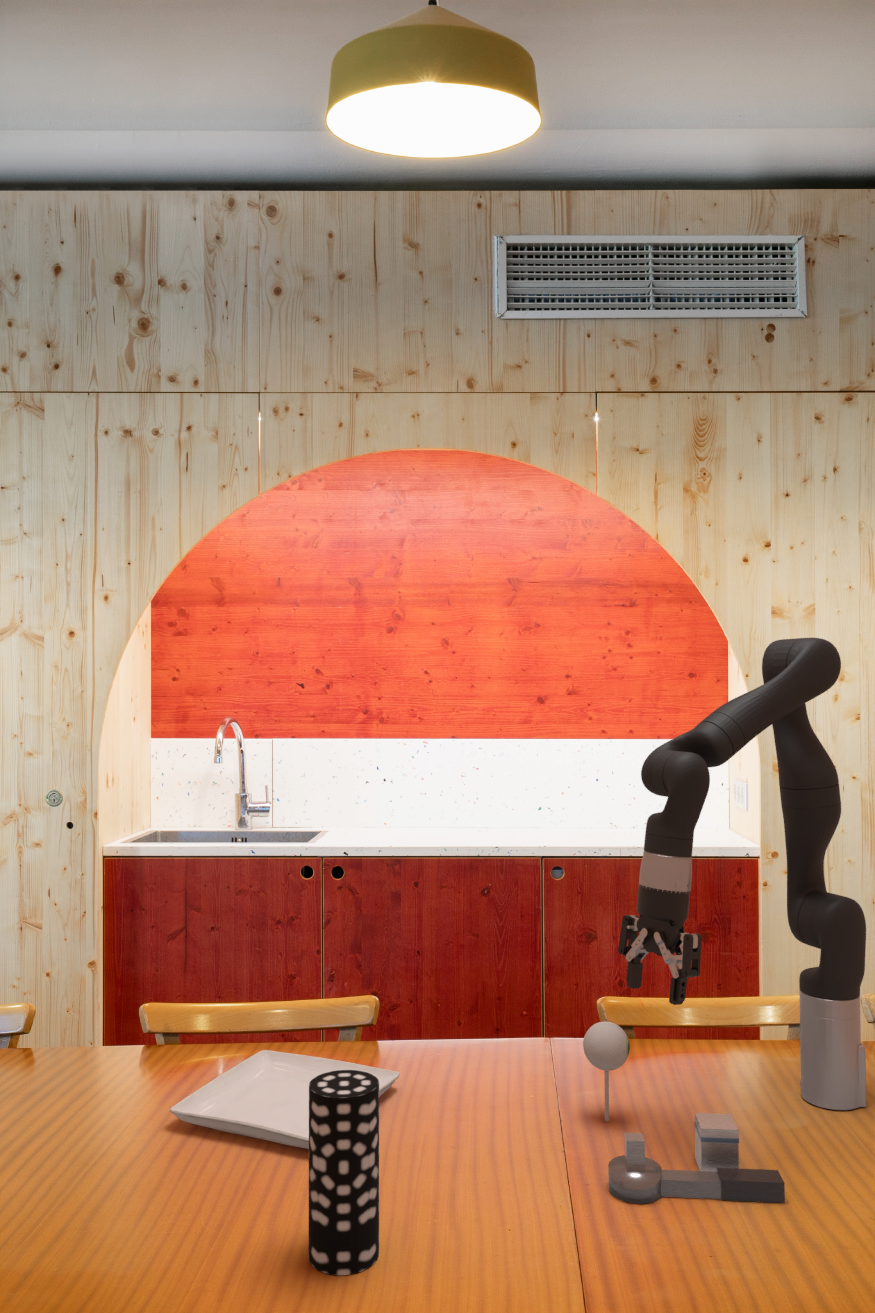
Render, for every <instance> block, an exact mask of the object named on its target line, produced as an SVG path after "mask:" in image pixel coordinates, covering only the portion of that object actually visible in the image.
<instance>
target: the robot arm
mask: <svg viewBox="0 0 875 1313" xmlns="http://www.w3.org/2000/svg"><path fill="white" fill-rule="evenodd" d="M841 667H842V660H841V656H840V653H839V651H838V649H837V648H836V646H835V645H834V644H833V643H832V642H831V641H829V640H827V639H824V638H819V637H800V638H799V637H798V638H789V639H788V638H785V639H784V638H783V639H778V640H774V641H771V643H769V644H768V646H767V647H766V648H765V650H764V653H763V655H762V662H761V674H762V681H763V684H761V685H759V686H758V687H756V688H754V689H751V690H750V691H747V692H745V693H743V694H741V695H739V696H737V697H734V698H732V699H730V700H729V701H727V702H725V703H723V704H722V705H720V706H719V707H717V708H716V709H715V710H714V711H712V712H710V714H708V715H707V716H706V717H705V718H704V719H702V720H701V721H700V722H698V724H697V725H696V726H695V727H693V728H692V729H690V730H688V731H686V732H685V733H682V734H679V735H677V736H676V737H674V738H672V739H670V740H668V741H666V742H664V743H662V744H661V745H659V746H658V747H656V748H655V749H654V750H653V751H652V752H650V753H649V755H648V756H647V757H646V758H645V760H644V761H643V763H642V767H641V771H640V777H641V782H642V784H643V786H644V787H645V789H647V790H648V791H649V792H650V793H652V794H654V795H656V796H661V797H667V799H666V803H665V805H664V808H663V809H662V811H660V812H656V813H655V812H654V813H653V814H651V815H649V816H648V817H647V821H646V826H645V833H644V834H645V835H644V843H643V844H644V846H643V854H642V859H641V861H640V862H641V863H640V868H639V869H640V870H639V879H638V880H639V881H638V889H637V898H636V900H637V901H636V912H637V915H634V914H629V915H626V914H625V915H623V916H622V920H621V927H620V934H619V942H618V947H617V953H618V954H619V955H622V956H623V957H625V960H626V961H627V971H626V983H627V988H630V989H635V990H636V989H640V988H641V987H642V978H643V972H644V971H643V969H644V963H643V962H642V961H643V960H644V958H645V957H646V956H647V955H648V954H650V953H654V954H655V955H656V956H659V957H662V958H663V961H664V963H665V964H667V965H668V968H669V971H670V973H671V975H672V977H670V987H669V997H668V1002H669V1004H671V1005H674V1006H677V1005H678V1006H679V1005H682V1004H684V1002H685V1001H686V996H687V986H688V985H687V984H688V980H689V978H695V977H697V978H699V976H700V975H701V963H702V962H701V960H702V959H701V958H702V956H701V955H702V935H701V934H700V933H689V932H686V931H685V922H686V920H688V918H689V912H690V911H689V909H690V898H691V890H692V888H691V887H692V877H693V875H692V874H693V870H692V869H693V866H692V856H693V846H694V836H695V835H694V833H695V828H696V826H697V823H698V822H699V821H698V820H699V819H700V817H701V816H700V815H701V813H702V811H703V808H704V804H705V801H706V798H707V796H708V793H709V790H710V789H709V788H710V785H711V784H710V783H711V778H710V776H711V775H710V771H709V768H715V767H719V766H722V765H724V764H725V763H727V761H729V760H730V759H731V758H732V757H734V756H735V755H736V754H737V753H738V752H740V751H741V750H742V748H744V747H745V746H746V745H747V744H748V743H750V741H752V740H753V739H755V738H756V737H757V736H758V735H759V734H761V733H762V732H763V731H765V730H766V729H768V728H769V727H770V726H771V727H772V730H773V737H774V738H773V740H774V745H775V752H776V753H775V754H776V760H777V770H778V784H779V785H778V786H779V793H780V794H779V795H780V796H779V797H780V804H781V810H782V812H781V813H782V818H783V828H784V839H785V841H784V842H785V851H786V852H785V853H786V854H785V855H786V913H787V922H788V926H789V929H790V931H791V934H792V935H793V936H794V938H795V939H796V940H797V941H799V942H800V943H803V944H805V945H807V946H809V947H813V948H816V949H819V950H820V953H819V954H820V956H819V964H818V966H815V967H814V966H813V967H809V968H808V967H807V968H805V969H803V970H802V971H801V972H800V973H799V977H798V978H799V980H798V981H799V982H798V984H799V985H798V986H799V989H798V990H799V1040H800V1041H799V1043H800V1044H799V1047H800V1050H799V1051H800V1053H799V1055H800V1058H799V1059H800V1081H799V1082H800V1095H801V1098H803V1100H804V1101H806V1102H807V1103H809V1104H811V1105H814V1106H816V1107H819V1108H823V1109H827V1110H828V1109H829V1110H834V1111H849V1110H855V1109H858V1108H866V1107H867V1077H866V1076H867V1075H866V1074H867V1070H866V1065H867V1063H866V1056H867V1055H866V1046H865V1045H864V1044H863V1042H862V1037H861V1036H862V1033H861V1030H862V1029H861V1026H862V1024H861V1023H862V1022H861V985H862V982H863V980H864V976H865V968H866V947H867V946H866V944H867V923H866V917H865V914H864V911H863V909H862V906H861V905H860V904H859V903H858V901H856V900H855V899H853V898H850V897H847V896H844V895H841V894H840V895H839V894H837V893H836V894H835V893H831V892H828V891H827V887H826V881H825V868H824V866H825V856H826V852H827V849H828V847H829V845H830V843H831V841H832V838H833V837H834V835H835V832H836V830H837V828H838V825H839V823H840V819H841V816H842V801H841V791H840V790H841V789H840V780H839V776H838V771H837V769H836V766H835V765H834V762H833V760H832V758H831V757H830V755H829V753H828V752H827V750H826V748H825V747H824V746H823V743H822V742H821V740H820V739H819V737H817V734H816V733H815V731H814V729H813V727H812V725H811V722H810V719H809V716H808V711H807V704H806V703H809V701H811V700H813V699H815V698H817V697H819V696H820V695H822V694H824V693H825V692H827V691H829V689H831V688H832V687H833V686H834V685H835V684H836V683H837V681H838V679H839V677H840V674H841V670H842V669H841ZM674 954H675V955H674Z"/></svg>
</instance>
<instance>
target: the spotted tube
mask: <svg viewBox="0 0 875 1313" xmlns="http://www.w3.org/2000/svg"><path fill="white" fill-rule="evenodd" d="M379 1255H380V1097H379V1080H378V1079H377V1078H376V1077H375V1076H374V1075H372V1074H370V1073H367V1072H363V1071H357V1070H337V1071H331V1072H327V1073H324V1074H321V1075H318V1076H316V1077H315V1078H313V1079H312V1080H311V1081H310V1083H309V1149H308V1261H309V1263H310V1265H311V1266H312V1267H313V1268H314V1269H315V1270H316V1271H319V1272H321V1273H322V1274H327V1275H332V1276H348V1275H349V1276H350V1275H354V1274H359V1273H362V1272H364V1271H365V1270H368V1269H369V1268H371V1267H372V1266H374V1264H375V1263H376V1262H377V1261H378V1258H379Z"/></svg>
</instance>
